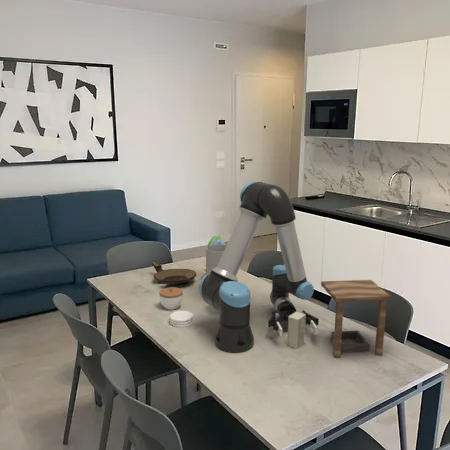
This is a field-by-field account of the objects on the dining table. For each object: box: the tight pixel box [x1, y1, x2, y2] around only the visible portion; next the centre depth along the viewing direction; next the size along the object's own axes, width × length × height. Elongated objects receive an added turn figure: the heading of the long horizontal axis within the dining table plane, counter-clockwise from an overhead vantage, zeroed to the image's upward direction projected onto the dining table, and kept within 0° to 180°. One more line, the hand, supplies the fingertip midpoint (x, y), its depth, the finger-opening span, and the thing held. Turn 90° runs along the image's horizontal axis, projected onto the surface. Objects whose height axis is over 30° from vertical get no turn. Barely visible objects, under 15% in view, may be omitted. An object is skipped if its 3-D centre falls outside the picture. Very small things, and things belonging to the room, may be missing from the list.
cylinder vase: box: [205, 244, 227, 276], centre depth 218 cm, size 12×12×25 cm
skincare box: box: [286, 310, 306, 349], centre depth 173 cm, size 6×4×12 cm
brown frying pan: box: [151, 261, 197, 285], centre depth 242 cm, size 22×30×8 cm
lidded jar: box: [159, 286, 184, 311], centre depth 208 cm, size 11×11×9 cm
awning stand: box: [320, 279, 392, 359], centre depth 170 cm, size 17×20×24 cm
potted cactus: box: [203, 235, 226, 273], centre depth 239 cm, size 16×15×25 cm
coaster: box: [169, 310, 194, 328], centre depth 193 cm, size 10×10×4 cm
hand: (298, 331), depth 170 cm, fingers open, 13 cm apart
